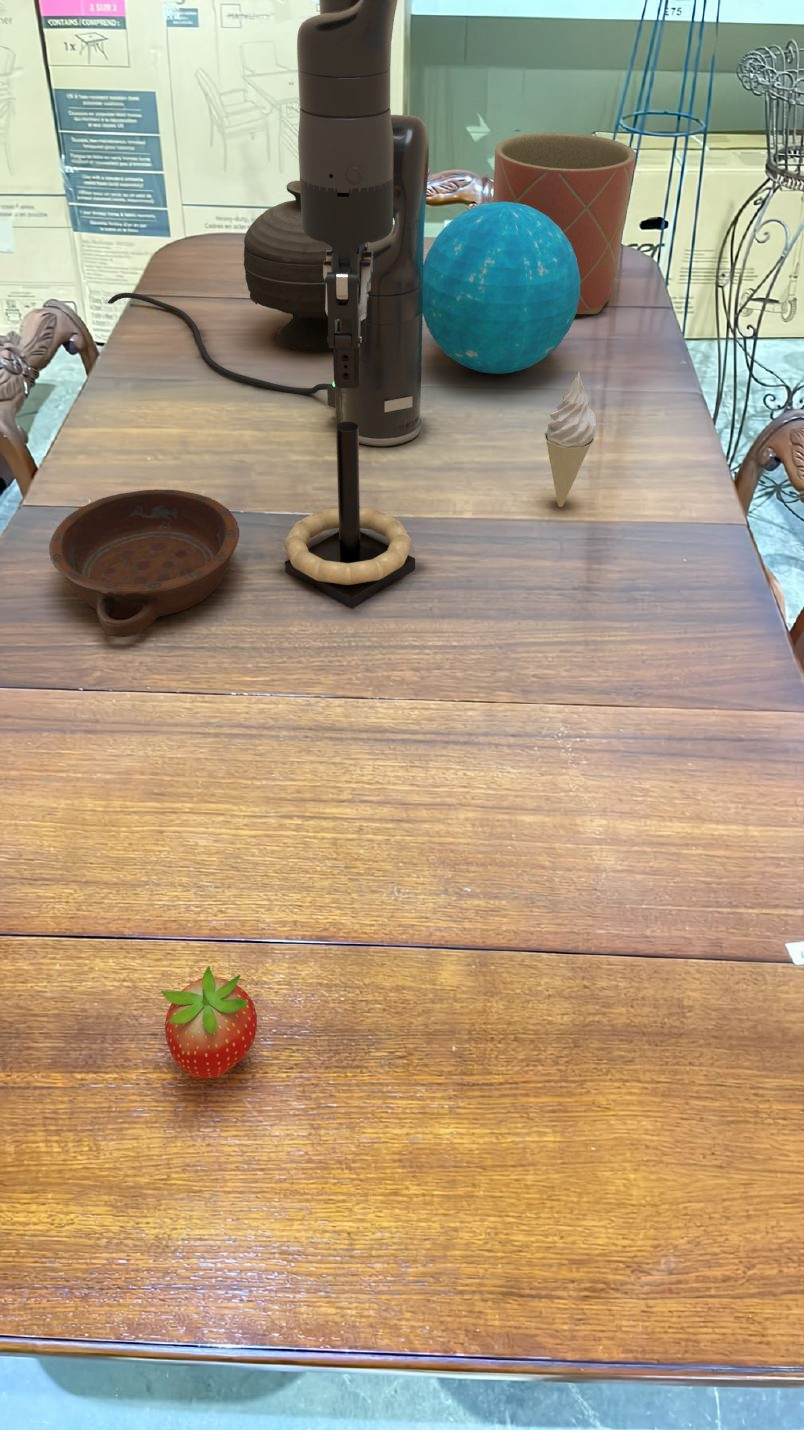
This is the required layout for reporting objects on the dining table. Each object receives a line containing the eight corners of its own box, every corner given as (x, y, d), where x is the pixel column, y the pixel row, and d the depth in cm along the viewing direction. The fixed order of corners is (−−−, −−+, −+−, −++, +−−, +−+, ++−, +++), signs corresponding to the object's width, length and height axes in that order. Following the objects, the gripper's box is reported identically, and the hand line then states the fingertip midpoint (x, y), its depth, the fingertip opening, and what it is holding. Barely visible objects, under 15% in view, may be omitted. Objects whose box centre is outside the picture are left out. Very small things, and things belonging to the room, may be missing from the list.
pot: (410, 323, 150) (401, 170, 136) (337, 380, 140) (319, 221, 126) (306, 299, 158) (288, 152, 143) (230, 351, 147) (202, 199, 133)
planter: (623, 324, 153) (646, 171, 139) (488, 321, 153) (498, 169, 140) (606, 275, 167) (625, 133, 154) (483, 274, 167) (491, 131, 154)
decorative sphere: (593, 392, 136) (616, 226, 123) (441, 408, 132) (447, 238, 119) (540, 331, 150) (555, 176, 137) (401, 343, 147) (403, 185, 133)
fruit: (197, 1017, 68) (181, 939, 62) (274, 1038, 67) (264, 961, 61) (158, 1092, 64) (138, 1016, 59) (239, 1117, 63) (226, 1041, 58)
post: (285, 571, 105) (274, 427, 95) (349, 535, 110) (345, 394, 100) (352, 608, 101) (348, 461, 91) (415, 568, 106) (418, 425, 96)
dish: (254, 519, 112) (250, 476, 109) (229, 650, 96) (223, 604, 92) (86, 518, 112) (77, 474, 109) (32, 648, 96) (19, 602, 92)
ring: (261, 554, 105) (259, 536, 104) (348, 508, 112) (347, 490, 111) (348, 603, 99) (348, 585, 98) (434, 551, 106) (435, 534, 105)
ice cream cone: (582, 520, 113) (602, 384, 103) (534, 515, 114) (548, 379, 104) (586, 497, 116) (605, 362, 107) (539, 491, 117) (554, 358, 107)
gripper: (308, 145, 92) (316, 333, 102) (289, 196, 81) (300, 400, 92) (397, 147, 91) (395, 335, 102) (389, 199, 81) (388, 402, 92)
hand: (350, 365), depth 97 cm, fingers open, 8 cm apart
